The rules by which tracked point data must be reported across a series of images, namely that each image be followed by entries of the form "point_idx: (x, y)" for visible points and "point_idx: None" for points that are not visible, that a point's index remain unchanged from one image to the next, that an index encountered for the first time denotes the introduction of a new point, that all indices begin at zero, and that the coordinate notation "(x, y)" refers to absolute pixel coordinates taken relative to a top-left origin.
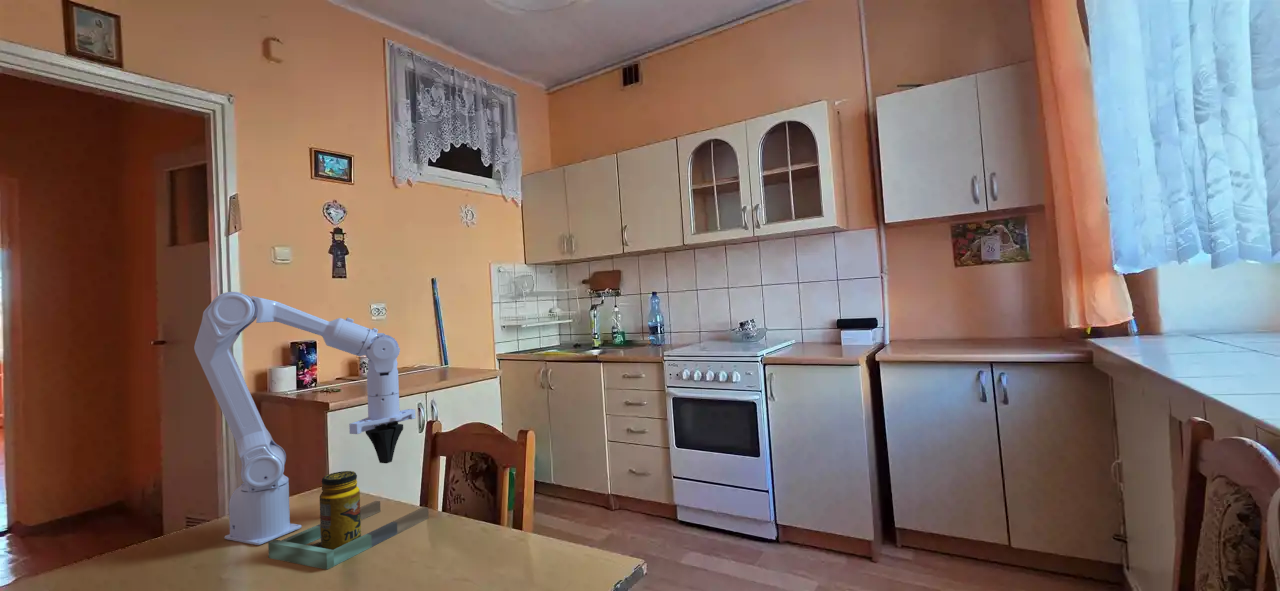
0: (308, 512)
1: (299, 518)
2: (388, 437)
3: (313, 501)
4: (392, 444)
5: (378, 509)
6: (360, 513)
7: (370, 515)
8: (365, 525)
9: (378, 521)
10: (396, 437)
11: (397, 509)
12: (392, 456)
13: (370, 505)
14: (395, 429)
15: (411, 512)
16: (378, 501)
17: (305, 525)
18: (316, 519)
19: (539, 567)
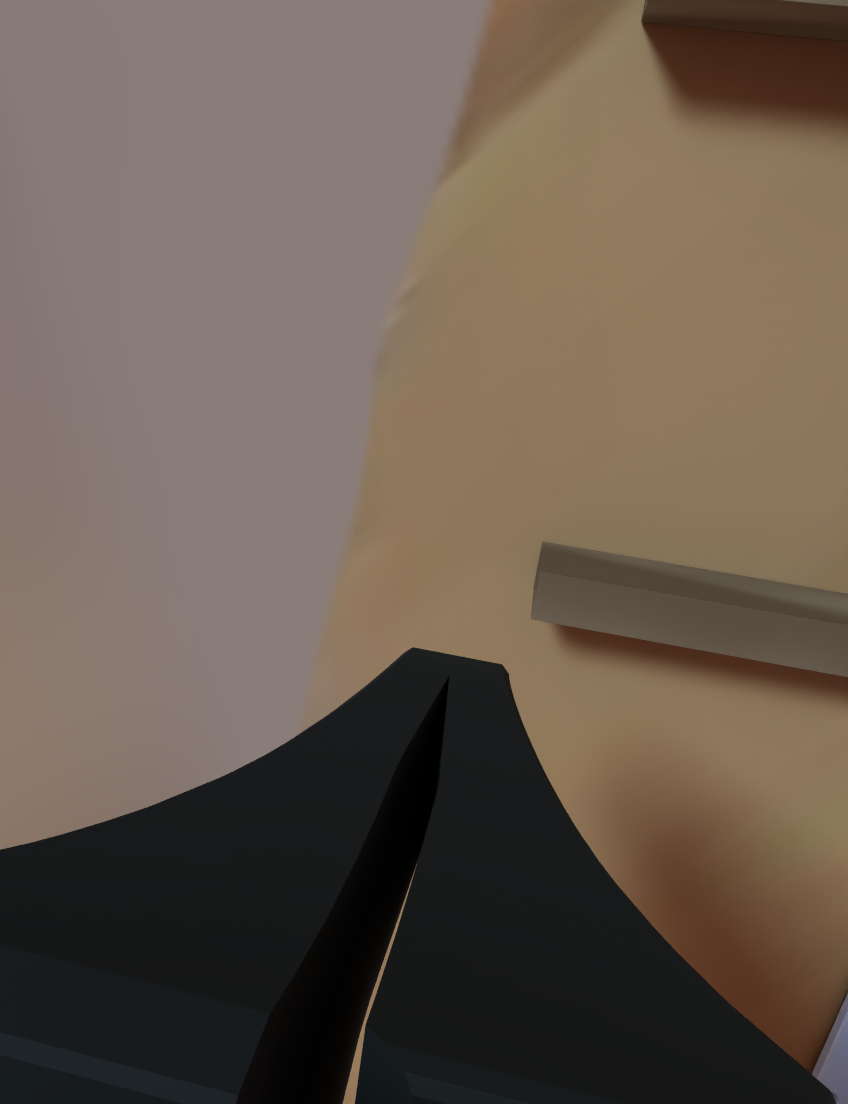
0: None
1: None
2: (554, 931)
3: None
4: (387, 773)
5: (561, 552)
6: (743, 596)
7: (641, 559)
8: (840, 463)
9: (750, 412)
10: (240, 824)
11: (481, 432)
12: (402, 669)
13: (645, 588)
14: (283, 1009)
15: (827, 5)
16: (546, 583)
17: (834, 887)
18: (723, 885)
19: None
